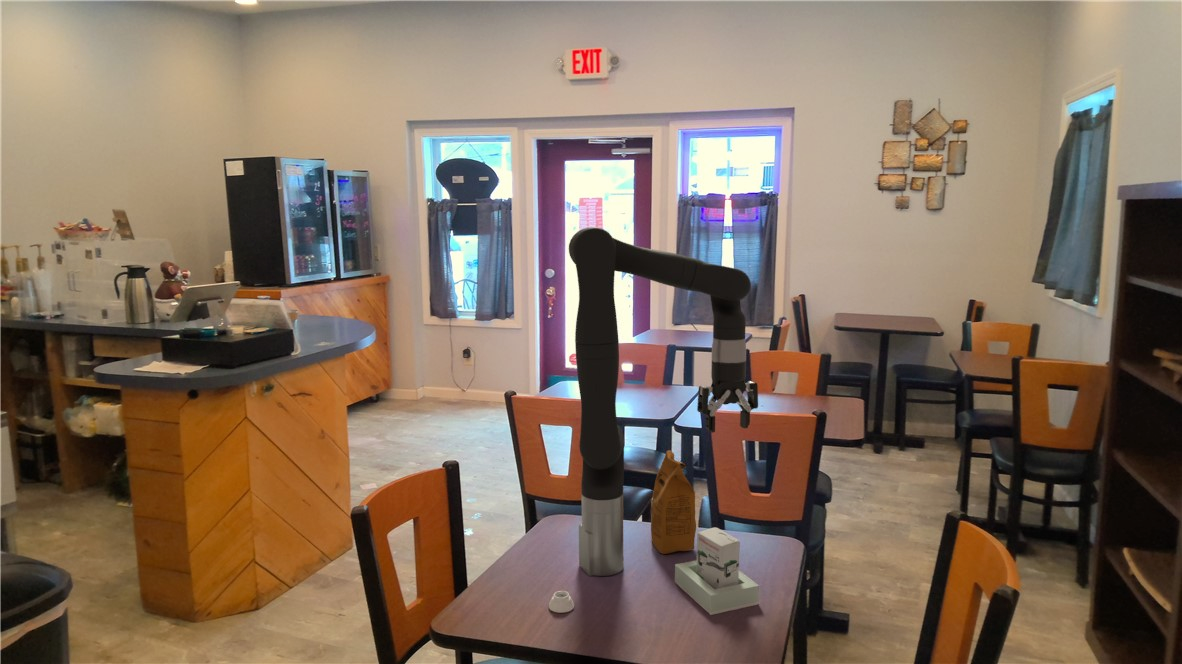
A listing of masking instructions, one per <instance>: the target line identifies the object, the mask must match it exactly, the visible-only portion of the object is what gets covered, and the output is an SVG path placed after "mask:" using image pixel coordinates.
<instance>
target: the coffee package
mask: <svg viewBox="0 0 1182 664" xmlns="http://www.w3.org/2000/svg"><path fill="white" fill-rule="evenodd" d="M686 468H687V466H686V464H685V463H683V462H681V461H677V460H675V453H674V452H673V451H672V450H670V449H669V450H666V453H665V455H664V458H663V460H662V462H661V465H660V468H659V470H658V472H657V475H656V478H655V481H654V488H653V493H652V499H651V505H650V506H651V508H650V519H651V522H650V523H651V524H650V533H651V535H650V538H651V540H652V544H653V546H654V548H655V549H656V550H658V551H659V553H660V554H662V555H668V554H673V553H676V552H688V551H691V550H695V539H696V531H697V522H696V521H697V520H696V491H695V490H694V488H693V486H692V485H691V483H690V482H689V480H688V478H687V476H685V473H684V471H683V470H684V469H686Z"/></svg>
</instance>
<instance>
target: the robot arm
mask: <svg viewBox="0 0 1182 664" xmlns="http://www.w3.org/2000/svg"><path fill="white" fill-rule="evenodd" d="M568 254H569V257H570V259H571V260H572V262H573V264H575V270H576V274H577V275H576V276H577V283H578V284H577V285H578V308H577V312H576V313H577V314H576V320H575V335H574V337H575V338H574V343H575V360H576V361H575V363H576V373H577V380H578V382H577V383H578V389H579V395H580V404H581V408H580V409H581V416H580V418H581V419H580V436H579V437H580V438H579V453H580V456H581V457H582V471H581V474H582V475H581V485H580V486H581V489H580V490H581V492H580V493H581V524H579V525H578V565H579V566H580V568H581V569H582V570H583V571H584V572H585V573H586V575H587V576H598V577H604V576H606V577H607V576H613V575H616V574H618V573H620V572H622V571H623V569H624V482H625V481H624V479H625V478H624V477H625V438H624V433H623V430H622V429H621V427H620V426H619V425H618V418H617V409H616V408H617V404H616V402H617V401H616V400H617V390H618V382H619V371H620V349H619V347H620V345H619V331H618V319H617V310H616V303H615V276H616V275H615V273H616V272H620V273H625V274H628V275H634V276H636V277H641V278H643V279H647V280H650V281H651V282H652V281H653V282H656V283H659V284H661V285H666V286H669V287H673V288H677V289H681V290H685V291H691V292H695V293H696V292H697V293H703V294H706V295H708V296H710V303H711V310H712V315H713V320H712V321H713V322H712V324H713V325H712V326H713V327H712V328H713V329H712V332H713V333H712V344H711V371H710V372H711V373H710V374H711V376H710V377H711V385H710V386H705V385H700V386H698V390H697V391H698V394H697V406H696V407H697V408H696V411H697V412H698V413H699V414H700V413H701V414H703V415H704V416H705V425H704V426H705V429H706V430H707V432H709V433H711V434H713V433H715V432H716V416H715V415H716V413H717V411H718V410H719V409H721V408H722V406H723V405H726V406H727V405H729V404H734V405H735V404H737V405H738V407H739V408H740V409H741V410H740V414H739V416H740V417H739V418H740V419H739V426H740V428H742V429H748V428H749V426H750V423H751V412H752V410H755V409H756V410H757V409H758V407H759V398H758V397H759V392H758V391H759V388H758V382H756V381H755V382H754V381H752V380H748V381H747V382H746V381H745V380H746V377H747V373H746V372H747V346H746V345H747V344H746V317H745V314H744V313H743V311H742V308H741V307H742V306H741V301H742V300H743V299H745V297H747V295H748V294H749V293H750V291H751V286H752V284H751V283H752V282H751V279H750V277H749V276H748V274H747V273H746V272H744V271H743V270H741V269H739V268H736V267H735V268H734V267H729V266H725V265H720V264H714V263H708V262H706V261H703V260H700V259H699V258H694V257H691V256H687V255H683V254H678V253H675V252H669V251H663V250H657V249H652V248H647V247H642V246H638V245H633V244H630V243H627V242H624V241H622V240H619V239H616V238H614V237H613V236H612V235H611V233H609V232H608V231H607V230H605V229H604V228H601V227H596V226H593V227H592V226H590V227H585V228H581V229H580V230H578V231H577V232H576V233H574V235H572V237H571V239H570V240H569V244H568ZM745 391H746V394H747V396H746V397H747V398H746V397H745V396H744V393H745ZM711 394H712V396H711ZM710 396H711V398H709V397H710Z"/></svg>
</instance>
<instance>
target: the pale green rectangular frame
mask: <svg viewBox="0 0 1182 664" xmlns="http://www.w3.org/2000/svg"><path fill="white" fill-rule="evenodd" d="M696 564H697V559H696V560H690V561H686V562H681V563H675V564H674V583H675V584H676V585H677V586H678V587H680V588H681V590H683V591H684V592H685V593H686V594H687V595H689V597H691V599H692V600H694V601H695V602H696V603H697V604H698V605H699V606H700V607H701V608H702V609H704V611H706V612H707V613H708V614H709V616H712V615H718V614H721V613H725V612H730V611H734V610H739V609H744V608H748V607H754V606H757V605H759V600H760V599H759V598H760V585H759V584H757V583H756V582H755V581H754V580H752V579H751V578H749V576H747V575H745V573H743V572H742V571H740V570H739V579H738V585H733V586H728V587H724V588H719V589H714V588H712V587H711V586H710V585H709V584H708V583H707V582H705V581H704V580H703V579H702V578H701V577H699V576H698V575H697V574H696Z"/></svg>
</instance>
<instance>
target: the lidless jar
mask: <svg viewBox="0 0 1182 664" xmlns="http://www.w3.org/2000/svg"><path fill="white" fill-rule="evenodd" d="M574 608H575V602H574V601H573V599H572V597H571V595H570V594H569V591H565V590H558V591H555V592H554V593H553V595H552V597H551V599H550V601H549V603H548V609H549V610H550V611H551V612H554V613H559V614H561V613H562V614H564V613H568V612H571V611H572V610H573V609H574Z"/></svg>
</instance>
